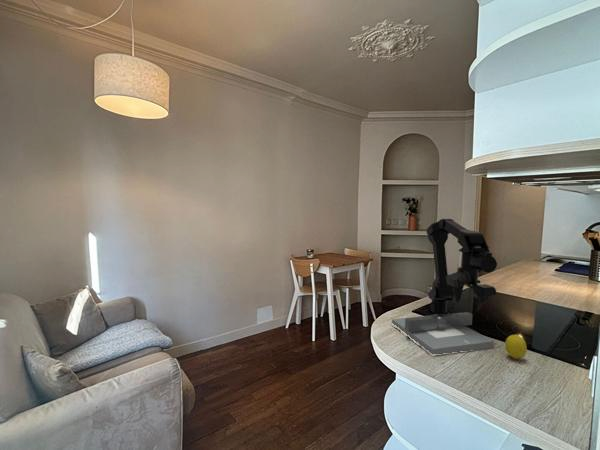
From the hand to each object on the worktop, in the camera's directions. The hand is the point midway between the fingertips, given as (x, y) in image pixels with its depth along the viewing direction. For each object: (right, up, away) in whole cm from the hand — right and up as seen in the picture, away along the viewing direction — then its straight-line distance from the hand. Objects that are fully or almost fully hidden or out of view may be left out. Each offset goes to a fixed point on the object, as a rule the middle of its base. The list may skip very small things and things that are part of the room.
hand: (466, 306), depth 112 cm
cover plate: (-12, -10, -2) cm, 16 cm away
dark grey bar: (-12, -7, -2) cm, 14 cm away
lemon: (+6, -12, -17) cm, 22 cm away
